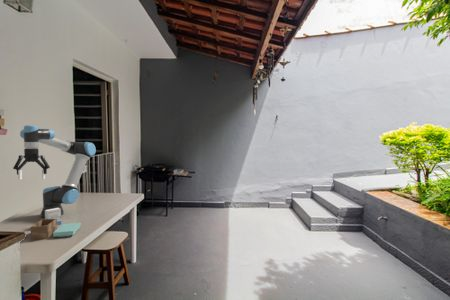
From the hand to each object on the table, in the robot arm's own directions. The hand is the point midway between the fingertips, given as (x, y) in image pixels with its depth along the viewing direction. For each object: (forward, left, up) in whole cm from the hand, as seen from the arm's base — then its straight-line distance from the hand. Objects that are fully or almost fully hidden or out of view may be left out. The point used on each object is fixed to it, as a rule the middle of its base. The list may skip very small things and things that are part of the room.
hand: (32, 179), depth 162 cm
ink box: (-5, +10, -35) cm, 37 cm away
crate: (+13, +12, -35) cm, 39 cm away
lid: (+13, +25, -35) cm, 45 cm away
